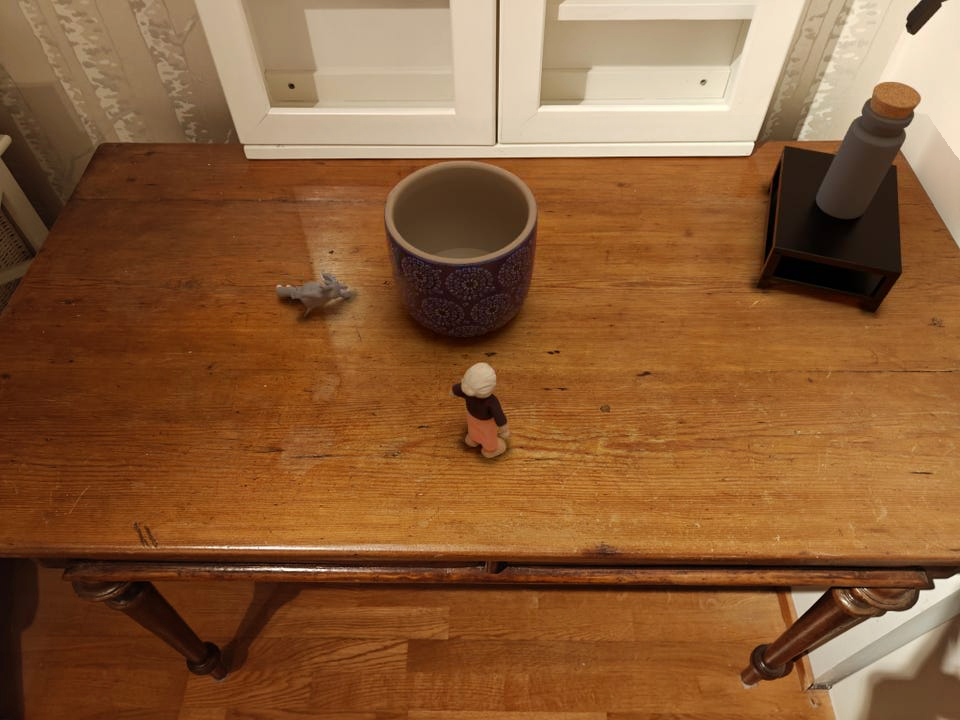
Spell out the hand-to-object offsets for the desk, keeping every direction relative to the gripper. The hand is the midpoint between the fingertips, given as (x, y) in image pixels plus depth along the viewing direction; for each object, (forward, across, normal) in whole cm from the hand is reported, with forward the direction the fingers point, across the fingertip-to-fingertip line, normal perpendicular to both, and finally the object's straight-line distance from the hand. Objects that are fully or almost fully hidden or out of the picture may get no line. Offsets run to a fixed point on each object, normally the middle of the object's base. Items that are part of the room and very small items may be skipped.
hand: (943, 49), depth 72 cm
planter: (+53, -15, -17) cm, 57 cm away
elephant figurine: (+64, -23, -28) cm, 74 cm away
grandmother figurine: (+58, +3, -22) cm, 63 cm away
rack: (+21, 0, +15) cm, 26 cm away
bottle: (+16, 0, +10) cm, 19 cm away
